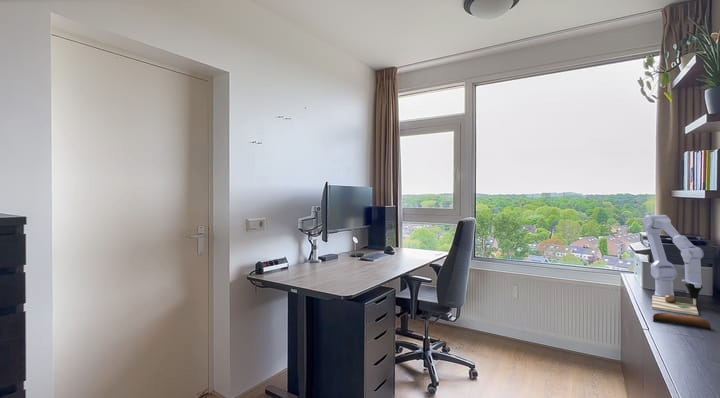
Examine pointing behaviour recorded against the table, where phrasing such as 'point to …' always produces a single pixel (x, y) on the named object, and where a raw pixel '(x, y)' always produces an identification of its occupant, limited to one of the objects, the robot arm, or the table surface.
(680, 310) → the board
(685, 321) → the sunglasses case
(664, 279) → the robot arm
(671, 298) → the bronze ball with handle
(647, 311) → the table surface
